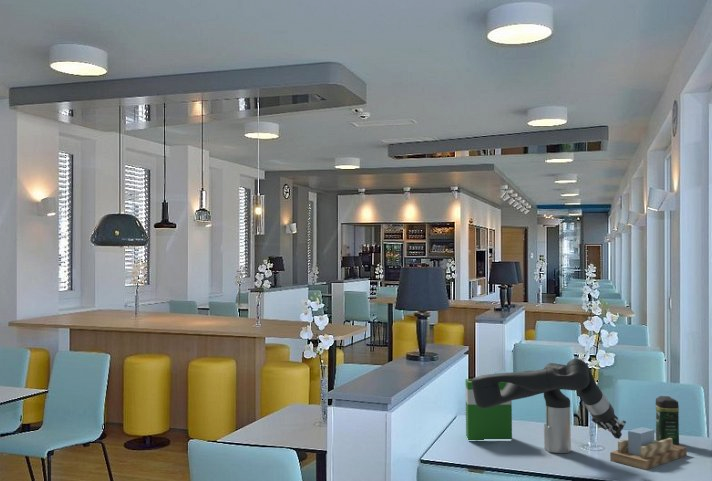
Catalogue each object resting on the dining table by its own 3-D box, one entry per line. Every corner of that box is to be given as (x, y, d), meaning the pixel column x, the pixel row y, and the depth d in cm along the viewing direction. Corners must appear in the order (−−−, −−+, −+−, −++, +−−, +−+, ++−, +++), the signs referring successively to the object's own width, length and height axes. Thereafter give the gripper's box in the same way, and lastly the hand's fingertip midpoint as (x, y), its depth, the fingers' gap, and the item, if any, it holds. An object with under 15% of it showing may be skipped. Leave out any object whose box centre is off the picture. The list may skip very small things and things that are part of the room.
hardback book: (508, 436, 291) (508, 379, 291) (512, 441, 283) (511, 382, 284) (466, 436, 292) (465, 379, 292) (468, 441, 284) (467, 382, 285)
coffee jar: (681, 447, 273) (681, 399, 273) (660, 446, 274) (659, 399, 275) (674, 441, 283) (673, 394, 283) (653, 440, 284) (653, 394, 284)
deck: (646, 469, 246) (645, 449, 246) (610, 460, 257) (610, 441, 257) (686, 455, 263) (686, 436, 263) (651, 447, 274) (651, 429, 274)
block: (641, 456, 252) (640, 433, 252) (628, 452, 256) (628, 430, 256) (654, 451, 258) (654, 429, 258) (641, 448, 262) (641, 427, 262)
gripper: (576, 410, 243) (597, 440, 250) (610, 418, 232) (631, 449, 239) (586, 393, 246) (606, 424, 253) (620, 400, 236) (640, 432, 243)
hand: (618, 436), depth 246 cm, fingers closed
